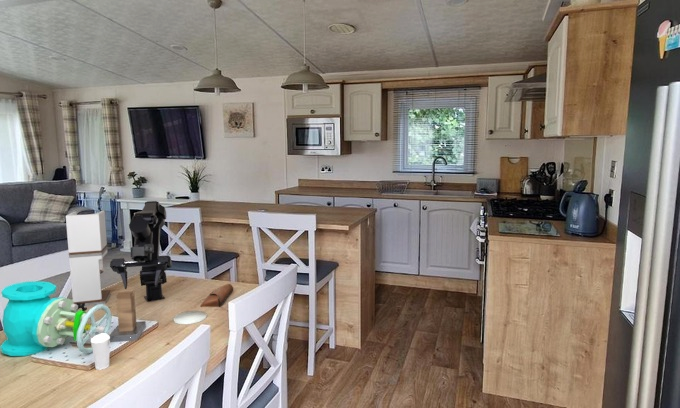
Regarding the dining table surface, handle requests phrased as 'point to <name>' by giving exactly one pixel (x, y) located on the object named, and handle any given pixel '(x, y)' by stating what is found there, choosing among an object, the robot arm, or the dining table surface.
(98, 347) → the milkshake
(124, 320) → the walnut post
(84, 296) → the tall white block
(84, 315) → the valve
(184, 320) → the ceramic coaster
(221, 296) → the sunglasses case
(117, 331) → the metal stand
